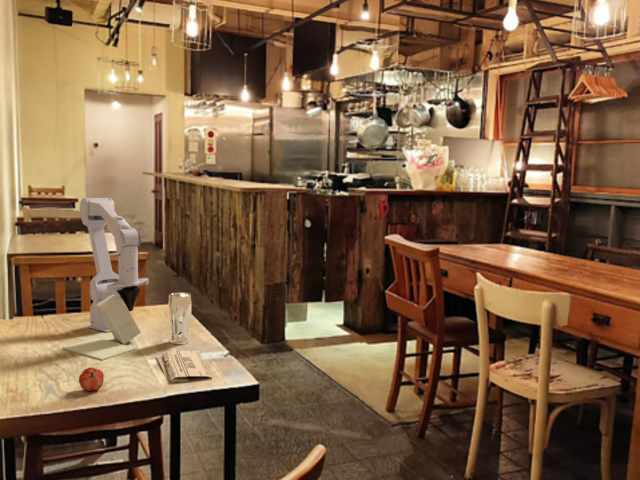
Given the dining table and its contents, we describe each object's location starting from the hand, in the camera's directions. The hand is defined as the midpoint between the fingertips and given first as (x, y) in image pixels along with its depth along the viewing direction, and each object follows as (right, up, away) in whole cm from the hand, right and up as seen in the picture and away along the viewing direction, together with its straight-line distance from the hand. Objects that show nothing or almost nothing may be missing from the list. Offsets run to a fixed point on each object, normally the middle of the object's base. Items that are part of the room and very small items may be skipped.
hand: (129, 310), depth 180 cm
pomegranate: (+4, -15, -38) cm, 41 cm away
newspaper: (+22, -14, -22) cm, 34 cm away
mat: (-6, -10, -8) cm, 15 cm away
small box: (0, -8, +1) cm, 8 cm away
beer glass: (+16, -10, +1) cm, 19 cm away
